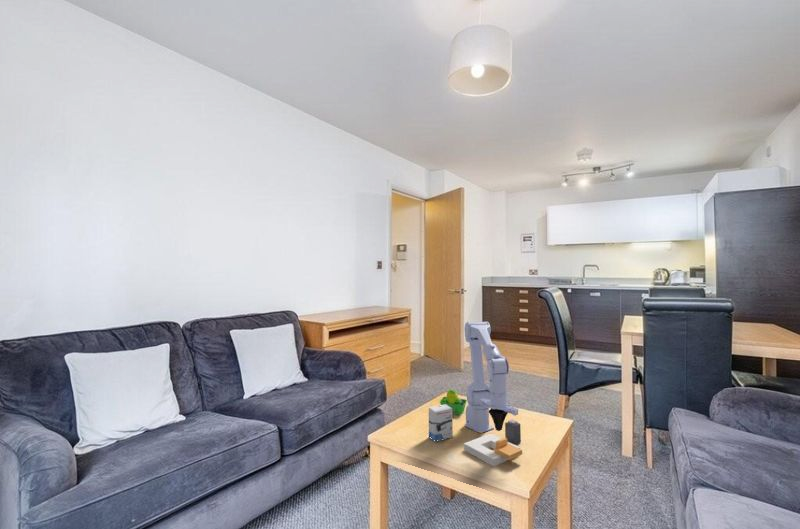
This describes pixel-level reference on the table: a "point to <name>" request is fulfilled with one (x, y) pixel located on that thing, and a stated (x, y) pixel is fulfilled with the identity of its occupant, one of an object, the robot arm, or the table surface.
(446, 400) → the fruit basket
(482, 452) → the socket
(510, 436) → the plug
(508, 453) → the tan slab
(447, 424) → the ink box
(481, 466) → the table surface
